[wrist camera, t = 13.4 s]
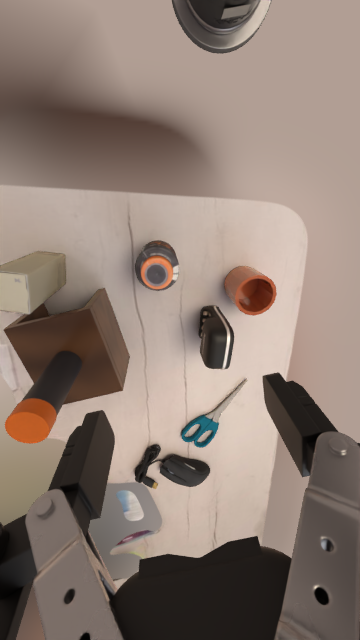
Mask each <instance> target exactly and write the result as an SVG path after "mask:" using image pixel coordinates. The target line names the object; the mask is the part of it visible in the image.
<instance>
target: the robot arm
mask: <svg viewBox="0 0 360 640" xmlns="http://www.w3.org/2000/svg"><path fill="white" fill-rule="evenodd" d="M260 1H261V0H186V3H187V5H188V8H189V10H190V12H191V14H192V15H193V17H194V18H195V19H196V21H197V22H198V23H199V24H200V25H201V26H202V27H203V28H205V29H206V30H208V31H210V32H213V33H216V34H229V33H232V32H235V31H237V30H238V29H240V28H241V27H243V26H244V25H245V24H246V23H247V22H248V21H249V20H250V19H251V17H252V16H253V14H254V13H255V11H256V9H257V7H258V5H259V3H260ZM263 388H264V398H265V404H266V407H267V410H268V412H269V414H270V416H271V418H272V420H273V422H274V424H275V426H276V428H277V429H278V431H279V433H280V435H281V437H282V439H283V441H284V443H285V445H286V447H287V448H288V450H289V452H290V454H291V456H292V458H293V460H294V462H295V464H296V466H297V467H298V470H299V471H300V473H301V475H302V477H305V476H310V478H309V483H308V488H306V490H305V493H304V498H303V503H302V508H301V513H300V519H299V524H298V529H297V534H296V539H295V544H294V549H293V555H292V558H290V557H288V556H287V555H285V554H284V553H282V552H279V551H277V550H275V549H272V548H268V547H263V546H260V544H259V540H258V537H257V536H255V537H250V538H245V539H240V540H235V541H230V542H227V543H225V544H224V545H222V546H220V547H218V548H217V549H215V550H213V551H211V552H210V553H208V554H206V555H204V556H203V557H200V558H193V557H186V556H179V555H172V554H166V555H161V556H156V557H151V558H146V559H141V560H140V563H139V572H137V573H135V574H134V575H133V576H131V577H130V578H129V579H128V580H127V581H126V582H125V583H124V584H123V585H122V586H121V587H120V588H119V589H117V587H116V585H115V584H114V582H113V580H112V578H111V577H110V575H109V573H108V571H107V569H106V566H105V564H104V562H103V560H102V558H101V556H100V553H99V551H98V549H97V547H96V545H95V543H94V541H93V539H92V536H91V534H90V532H89V531H88V528H89V524H90V520H92V519H97V518H100V516H101V511H102V506H103V501H104V495H105V491H106V485H107V480H108V475H109V470H110V465H111V460H112V455H113V450H114V444H115V438H114V433H113V430H112V428H111V426H110V423H109V421H108V419H107V417H106V415H105V413H104V411H103V410H101V411H96V412H92V413H87V414H86V416H85V418H84V421H83V424H82V426H78V427H77V428H76V429H75V430H74V431H73V433H72V434H71V435H70V437H69V439H68V442H67V444H66V449H64V452H63V454H62V457H61V459H60V462H59V464H58V467H57V470H56V472H55V474H54V477H53V479H52V482H51V484H50V487H49V489H48V491H47V492H46V493H44V494H42V495H41V496H40V497H39V498H38V499H37V500H36V501H35V502H34V503H33V504H32V506H31V507H30V509H29V511H28V513H27V514H26V515H24V516H22V517H20V518H18V519H16V520H14V521H12V522H11V523H9V524H7V525H5V526H3V525H2V524H1V523H0V640H16V637H17V633H18V630H19V626H20V623H21V620H22V617H23V613H24V610H25V607H26V604H27V600H28V597H29V593H30V590H31V587H32V583H33V586H34V591H35V595H36V600H37V604H38V609H39V613H40V618H41V623H42V627H43V632H44V636H45V640H360V443H356V442H355V441H354V440H353V439H352V438H350V437H349V436H347V435H345V434H342V433H339V432H338V431H337V430H336V428H335V427H334V426H333V424H332V423H331V422H330V421H329V419H328V418H327V417H326V416H325V414H324V413H323V412H322V411H321V409H320V408H319V407H318V405H317V404H315V402H314V400H313V399H312V398H311V397H310V396H309V394H308V393H307V392H306V390H305V389H304V388H303V387H302V386H301V385H299V384H297V383H295V382H294V381H289V382H286V381H285V380H284V379H283V377H282V376H281V374H280V373H274V374H269V375H264V376H263Z"/></svg>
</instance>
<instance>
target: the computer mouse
mask: <svg viewBox="0 0 360 640" xmlns="http://www.w3.org/2000/svg"><path fill="white" fill-rule="evenodd" d="M156 446H157V447H159V449H158V448H156ZM160 451H161V448H160V446H159V445H153V446H151V447H150V448H148V449H147V451H146V453H145V457H144V460H143V461H142V464H140V465H139V466H138V467H137V468H136V469H135V476H136V477H135V480H136V481H137V482H139V483H141V482H143V483H144V484H145V485H147V486H149V487H151V488H152V487H153V488H154V489H156V488H157V486H158V483H156V482H154V480H152V479H150V478H148V477H145V476H146V473H147V470H148V467H149V465H151V464H152V463H154V462H156V461H161V462H162V463H163V465H162V467H161V468H160V473H161V474H162V475H163V476H165V477H166V478H168V479H169V480H171V481H173V482H175V483H177V484H180V485H184V486H188V487H193V486H197V485H199V484H200V483H202V482H203V481H204V480H205V479H206V478H207V476H208V475H209V473H210V468H209V466H208V465H207V464H205V463H204V462H201V461H198V460H191V459H185V458H182V457H179V456H176V455H174V456H172V457H171V458H170V459H169V460H166V461H165V460H155V461H153V460H154V459H155V458H156V457H157V456H158V454H159V452H160ZM152 461H153V462H152Z"/></svg>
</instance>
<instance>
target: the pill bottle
mask: <svg viewBox="0 0 360 640" xmlns="http://www.w3.org/2000/svg"><path fill="white" fill-rule="evenodd" d="M135 272H136V275H137V278H138V280H139V281H140V282H141V284H142V285H144V286H145V287H147V288H148V289H151V290H156V291H159V290H164V289H167V288H169V287H170V286H172V285H173V284H174V283H175V281H176V280H177V278H178V275H179V263H178V260H177V257H176V254H175V251H174V249H173V248H172V247H171V246H170V245H169V244H168V243H166V242H164V241H152V242H150V243H148V244H147V245H145V246H144V247H143V249H142V251H141V253H140V254H139V256H138V258H137V260H136V264H135Z"/></svg>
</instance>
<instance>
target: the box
mask: <svg viewBox="0 0 360 640" xmlns="http://www.w3.org/2000/svg"><path fill="white" fill-rule="evenodd" d="M65 283H66V269H65V255H64V254H57V253H49V252H40V251H37V252H34V253H32V254H29V255H27V256H24V257H21V258H19V259H16V260H14V261H11V262H8V263H6V264H3V265H1V266H0V311H4V312H12V313H20V314H31V313H32V312H33V311H34V310H35V309H36V308H37V307H39V306H40V305H41V304H42V303H43V302H45V301H46V300H47V299H48V298H49V297H50V296H52V295H53V294H54V293H55V292H56V291H57V290H59V289H60V288H61V287H62V286H63V285H65Z"/></svg>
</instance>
